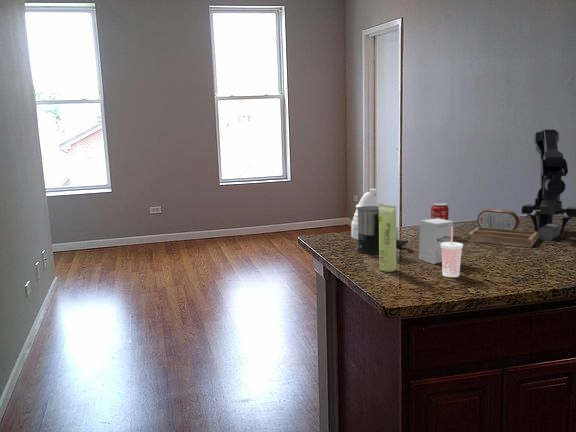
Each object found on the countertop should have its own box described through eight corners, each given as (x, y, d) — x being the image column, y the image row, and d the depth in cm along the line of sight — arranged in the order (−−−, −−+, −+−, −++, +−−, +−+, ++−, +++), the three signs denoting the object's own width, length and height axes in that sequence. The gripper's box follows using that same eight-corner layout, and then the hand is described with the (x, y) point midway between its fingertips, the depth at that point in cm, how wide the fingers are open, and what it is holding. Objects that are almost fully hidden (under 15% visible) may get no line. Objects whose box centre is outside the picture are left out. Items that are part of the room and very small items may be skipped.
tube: (376, 271, 171) (376, 205, 168) (378, 267, 176) (378, 203, 172) (395, 272, 170) (396, 206, 166) (397, 268, 174) (398, 203, 171)
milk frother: (351, 251, 196) (351, 208, 194) (378, 243, 208) (378, 201, 205) (387, 258, 187) (387, 212, 184) (413, 248, 198) (413, 205, 195)
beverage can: (446, 234, 219) (447, 202, 217) (449, 237, 213) (450, 205, 211) (429, 234, 220) (429, 202, 218) (431, 237, 214) (432, 205, 212)
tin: (518, 232, 219) (519, 210, 218) (517, 234, 217) (518, 211, 215) (478, 229, 227) (478, 207, 226) (475, 230, 225) (476, 209, 223)
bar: (547, 234, 216) (548, 223, 215) (559, 235, 214) (560, 224, 213) (538, 239, 208) (539, 228, 207) (550, 241, 205) (550, 230, 205)
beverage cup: (449, 279, 162) (450, 229, 160) (435, 273, 168) (436, 225, 165) (466, 276, 164) (468, 227, 162) (452, 271, 170) (453, 223, 167)
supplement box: (434, 264, 177) (435, 223, 175) (418, 259, 184) (419, 219, 182) (452, 261, 181) (454, 221, 178) (436, 256, 187) (437, 217, 185)
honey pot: (392, 235, 219) (393, 188, 216) (372, 241, 210) (373, 192, 207) (364, 231, 228) (364, 185, 225) (344, 237, 219) (344, 189, 215)
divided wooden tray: (477, 233, 219) (477, 226, 219) (537, 238, 208) (538, 231, 208) (467, 240, 207) (467, 234, 207) (530, 247, 196) (530, 239, 196)
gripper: (519, 192, 206) (517, 236, 209) (578, 195, 196) (575, 241, 199) (525, 188, 215) (523, 230, 218) (581, 191, 205) (578, 234, 208)
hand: (549, 234), depth 210 cm, fingers open, 8 cm apart
